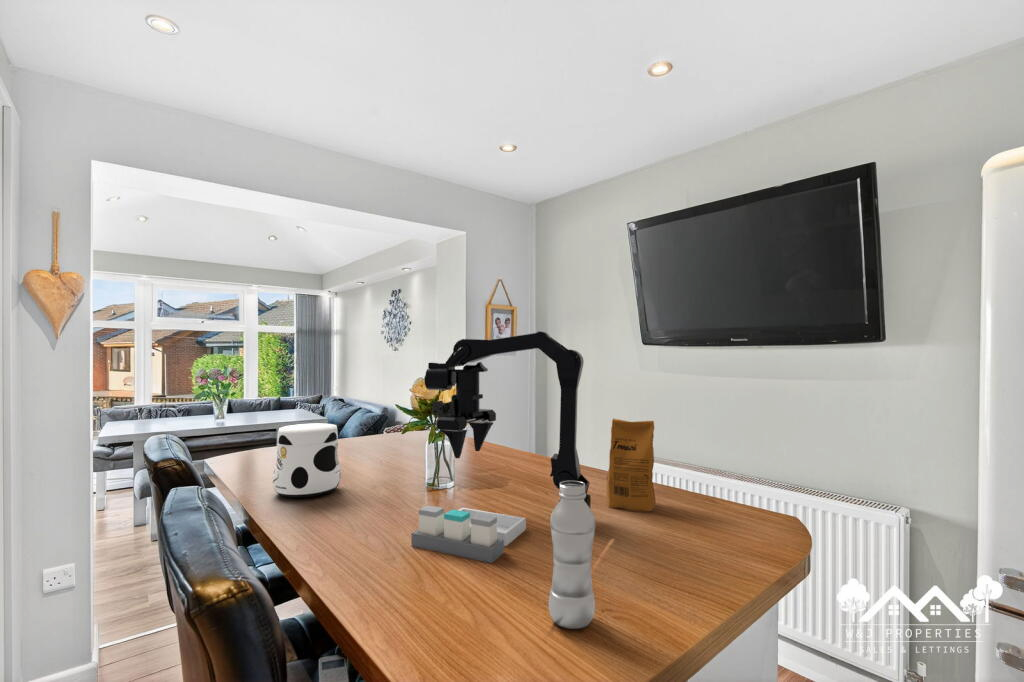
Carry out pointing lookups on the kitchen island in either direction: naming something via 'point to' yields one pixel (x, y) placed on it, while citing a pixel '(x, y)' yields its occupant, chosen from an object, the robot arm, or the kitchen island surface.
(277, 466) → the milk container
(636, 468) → the coffee package
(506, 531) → the tray
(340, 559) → the kitchen island surface
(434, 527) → the block
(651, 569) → the kitchen island surface
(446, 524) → the block
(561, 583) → the plastic bottle
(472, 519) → the fuse
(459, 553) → the fuse holder
